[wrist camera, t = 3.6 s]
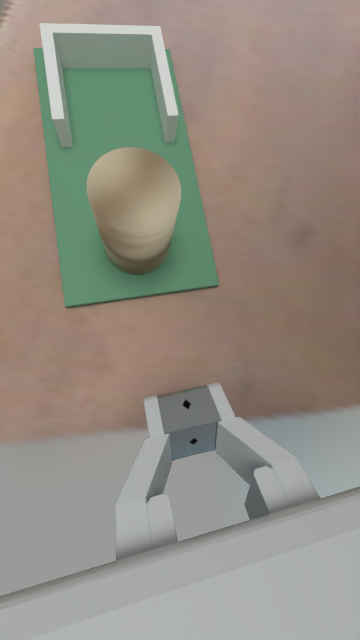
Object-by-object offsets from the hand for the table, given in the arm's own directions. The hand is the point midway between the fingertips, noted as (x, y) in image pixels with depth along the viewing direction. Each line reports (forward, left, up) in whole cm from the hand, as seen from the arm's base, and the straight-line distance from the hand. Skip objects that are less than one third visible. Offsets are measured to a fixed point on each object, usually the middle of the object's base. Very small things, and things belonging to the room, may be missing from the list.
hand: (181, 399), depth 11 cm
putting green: (+15, -15, -14) cm, 25 cm away
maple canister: (+9, -9, -13) cm, 18 cm away
